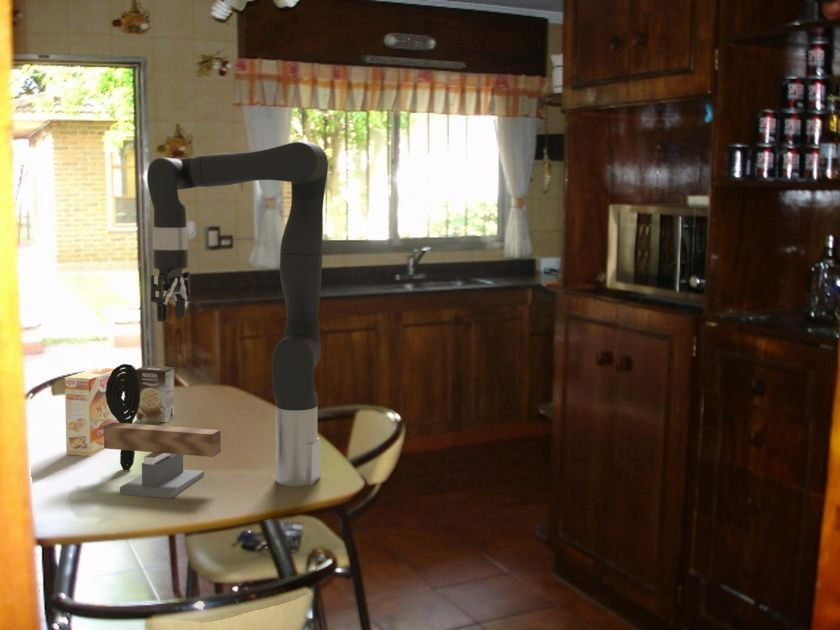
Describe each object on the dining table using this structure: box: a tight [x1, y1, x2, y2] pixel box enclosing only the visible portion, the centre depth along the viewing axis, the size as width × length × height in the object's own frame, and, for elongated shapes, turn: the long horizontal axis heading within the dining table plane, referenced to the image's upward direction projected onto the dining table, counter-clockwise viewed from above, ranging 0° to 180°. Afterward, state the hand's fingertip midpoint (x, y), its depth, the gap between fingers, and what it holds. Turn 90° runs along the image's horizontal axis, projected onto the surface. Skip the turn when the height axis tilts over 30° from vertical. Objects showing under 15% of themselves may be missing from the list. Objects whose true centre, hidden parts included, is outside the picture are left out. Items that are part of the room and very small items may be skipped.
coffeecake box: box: [64, 367, 119, 457], centre depth 237 cm, size 15×7×20 cm, turn 170°
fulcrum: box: [119, 452, 205, 499], centre depth 207 cm, size 12×16×8 cm
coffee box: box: [135, 365, 175, 423], centre depth 264 cm, size 9×6×16 cm
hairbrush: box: [105, 363, 142, 471], centre depth 218 cm, size 8×4×25 cm, turn 81°
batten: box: [104, 422, 222, 458], centre depth 207 cm, size 26×4×5 cm, turn 77°
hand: (171, 319), depth 213 cm, fingers open, 8 cm apart
